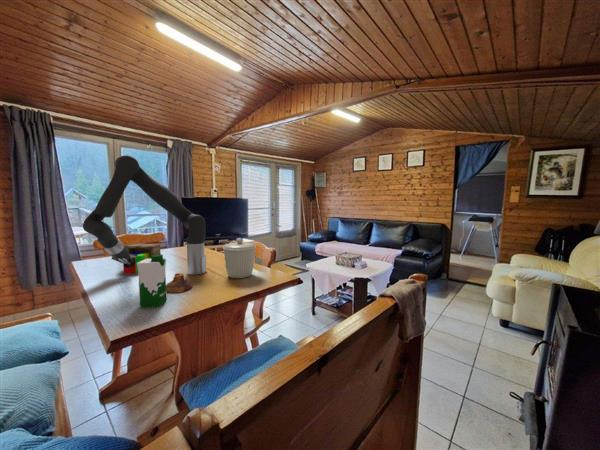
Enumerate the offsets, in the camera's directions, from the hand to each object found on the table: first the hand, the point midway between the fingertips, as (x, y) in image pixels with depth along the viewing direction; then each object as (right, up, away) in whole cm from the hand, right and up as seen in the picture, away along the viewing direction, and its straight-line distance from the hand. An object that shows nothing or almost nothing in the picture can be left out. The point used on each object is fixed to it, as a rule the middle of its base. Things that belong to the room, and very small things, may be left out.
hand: (132, 265), depth 144 cm
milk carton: (+34, -10, -39) cm, 53 cm away
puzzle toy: (0, -4, +6) cm, 8 cm away
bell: (+36, -8, -22) cm, 43 cm away
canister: (+60, -6, 0) cm, 60 cm away
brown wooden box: (0, -4, +11) cm, 12 cm away
